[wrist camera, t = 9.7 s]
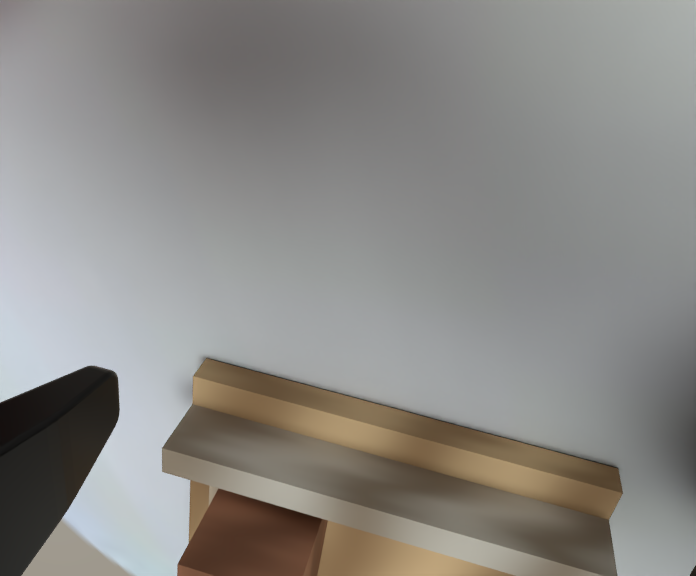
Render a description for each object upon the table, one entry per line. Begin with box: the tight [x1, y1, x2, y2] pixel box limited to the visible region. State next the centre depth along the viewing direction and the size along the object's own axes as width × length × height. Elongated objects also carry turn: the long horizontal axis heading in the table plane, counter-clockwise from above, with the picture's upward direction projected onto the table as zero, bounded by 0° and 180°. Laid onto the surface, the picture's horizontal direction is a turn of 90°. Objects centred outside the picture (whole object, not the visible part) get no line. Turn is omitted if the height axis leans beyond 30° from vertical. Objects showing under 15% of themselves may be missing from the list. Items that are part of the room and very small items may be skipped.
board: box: [162, 358, 623, 576], centre depth 26 cm, size 16×14×4 cm
